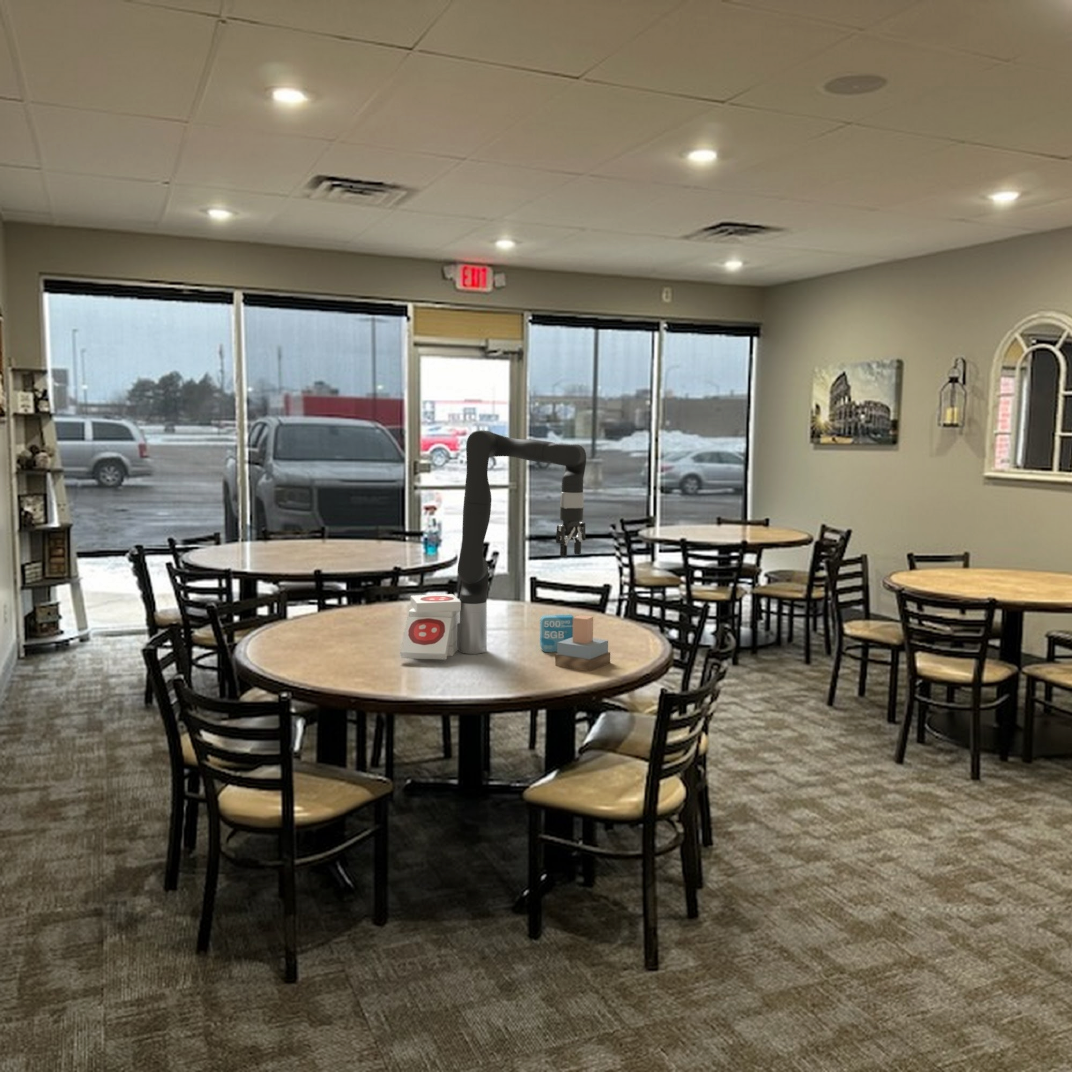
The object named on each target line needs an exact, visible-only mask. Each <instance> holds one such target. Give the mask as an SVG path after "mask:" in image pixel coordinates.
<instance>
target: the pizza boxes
mask: <svg viewBox="0 0 1072 1072" xmlns="http://www.w3.org/2000/svg"><path fill="white" fill-rule="evenodd" d="M410 606H411V607H412V608H411V609H409V610H408V612H407V613H408V616H407V617H406V621H405V622H406V623H405V627H404V632H403V634H402V635H403V636H402V641H401V647H400V649H399V654H400V659H412V660H413V659H414V660H415V659H418V660H447V659H448V657H449V656H450V657H453V656H454V654H455V653H456V652H457V624H458V623H460V611H461V601H460V598H458V597H456V596H455V595H454V594H453V593H448V594H446V593H445V594H424V595H423V594H421V595H417V594H416V595H410Z"/></svg>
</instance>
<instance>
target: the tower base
mask: <svg viewBox="0 0 1072 1072" xmlns="http://www.w3.org/2000/svg"><path fill="white" fill-rule="evenodd" d="M554 655H555V656H554V657H555V659H554V660H555V663H554V664H555V665H554V666H556V667H557V666H558V667H562V668H569V669H575V670H581V671H587V672H592V671H594V670H596V669H599V668H601V667H604V666H606V665H609V664H610V663H611V652H610V651H608V653H605V654H603V655H600V656H598V657H595V658H592V659H590V660H589V659H582V658H576V657H569V656H563V655H557V653H556V654H554Z"/></svg>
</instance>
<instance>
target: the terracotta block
mask: <svg viewBox="0 0 1072 1072" xmlns="http://www.w3.org/2000/svg"><path fill="white" fill-rule="evenodd" d="M593 638H594V616H592V615H591V616H590V615H580V614H579V615H577V616H574V618H573V642H575V643H584V644H588V643H590V642H592V641H593Z"/></svg>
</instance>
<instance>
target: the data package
mask: <svg viewBox="0 0 1072 1072" xmlns="http://www.w3.org/2000/svg"><path fill="white" fill-rule="evenodd" d="M574 617H575V616H574V615H572V614H550V615H547V614H543V615H542V616H541V617H540V618H539V619H540V620H539V621H540V622H539V624H540V625H539V628H540V629H539V632H540V633H539V646H540V648H541V650H542V651H543V652H545V653H557V642H560V641H563V640H566V639H569V638H572V637H573V618H574Z"/></svg>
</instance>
